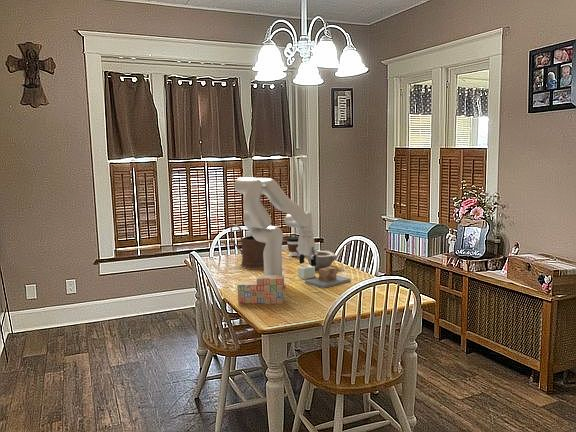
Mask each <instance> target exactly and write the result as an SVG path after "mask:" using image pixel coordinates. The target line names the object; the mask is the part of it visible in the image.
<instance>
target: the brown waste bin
mask: <svg viewBox="0 0 576 432" xmlns="http://www.w3.org/2000/svg"><path fill="white" fill-rule="evenodd" d="M234 227H237V228H238V230H239V238H240V242H241V248H240V247H239V246H238V245H237V244H236V243H235V242H234V239H233V228H234ZM230 241H231V243H232V244H233V245H234V246H235V247H236V248H237V249H238V250H239V252H240V253H241V256H242V257H241V259H242V261H241V264H240V267H241V266H242V267H241V268H243V267H245V268H244V269H252V268H253V269H262V268H263V269H264V257H263V252H264V248H265V245H266V243H262V242H258V241H256V240H255V239H254V237H253V236H252V235H250V236H245V237H243V236H242V228H241V227H240V226H239V225H237V224H234V225H233V224H232V225H231V227H230Z"/></svg>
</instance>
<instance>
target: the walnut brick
mask: <svg viewBox="0 0 576 432" xmlns="http://www.w3.org/2000/svg"><path fill="white" fill-rule="evenodd" d="M336 275H337V267H333V266H330V267H325V268H321V269H318V277H319V280H321V281H325V282H326V281H330V280H334V279H336Z"/></svg>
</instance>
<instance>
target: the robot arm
mask: <svg viewBox="0 0 576 432" xmlns="http://www.w3.org/2000/svg"><path fill="white" fill-rule="evenodd" d="M233 186H234V190H235V191H236V192H237V193H239V194H241V195H245V198H244V202H243V203H244V205H243V206H244V208H245V210H246V211H245V212H244V213H243V219H242V221H243V223H244V225H245V227H246V228H247V230H248V231H249V233H250V236H253V237H254V239H255V240H256V241H258V242H262V243H266V245H265V248H264V252H263V257H264V268H263V275H264V276H265V275H277V276H283V259H282V257H283V255H282V253H283V252H282V250H283V249H282V247H283V242H284V241H283V239H284V233H283V230H282V229H281V228H280V227H279V226H276V225H272V218H271V216H270V214H269V212H268V211H267V210H266V208H265V206H264V205H263V203H262V201H261V196H262V195H265V197H266V199H268V200H269V201H270V203H271V204H272V206H273V207H274V208H275V209H277V211H278V210H279V211H281V212H283V213H285V214H286V215H285V217H284V223H285V225H286V226H287V227H290V228H296V229H298V230H299V231H298V233H299V236H298V237H299V238H298V247H297V248H296V250H297V253H298V256H297V257H298V259H299V264H304V263H305V256H306V255H307V256H309V255H310V257H311V266H316V258H317V256H318V251H319V250H317V249H316V244H315V238H314V227H313V214H312V212H311V211H305V210H304V209H303V208H302V207H301V206H300V205H299V204H297V203H296V202H295V201H293V200H292V199H291V198H289V197H288V196H287V194H286V193H285V192H284V190H283V189H282V188H281V186H280V185H279V184H278V183H277V181H276V180H275V179H274V178H270V177H268V178H267V177H251V176H250V177H249V176H247V177H246V176H241V177H238V178H237V179H236V180H235V182H234V185H233ZM312 255H313V256H312ZM285 286H286V282H285V281H284V287H285Z"/></svg>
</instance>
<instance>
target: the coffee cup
mask: <svg viewBox="0 0 576 432" xmlns="http://www.w3.org/2000/svg"><path fill="white" fill-rule="evenodd" d="M298 238H299V236H289V237H287V238H286V240H285V241H286V242H287V244H286V245H287V248H288V255H289V257H292V256H297V257H299V256H298V253H297V250H296V248H297V247H298Z"/></svg>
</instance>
